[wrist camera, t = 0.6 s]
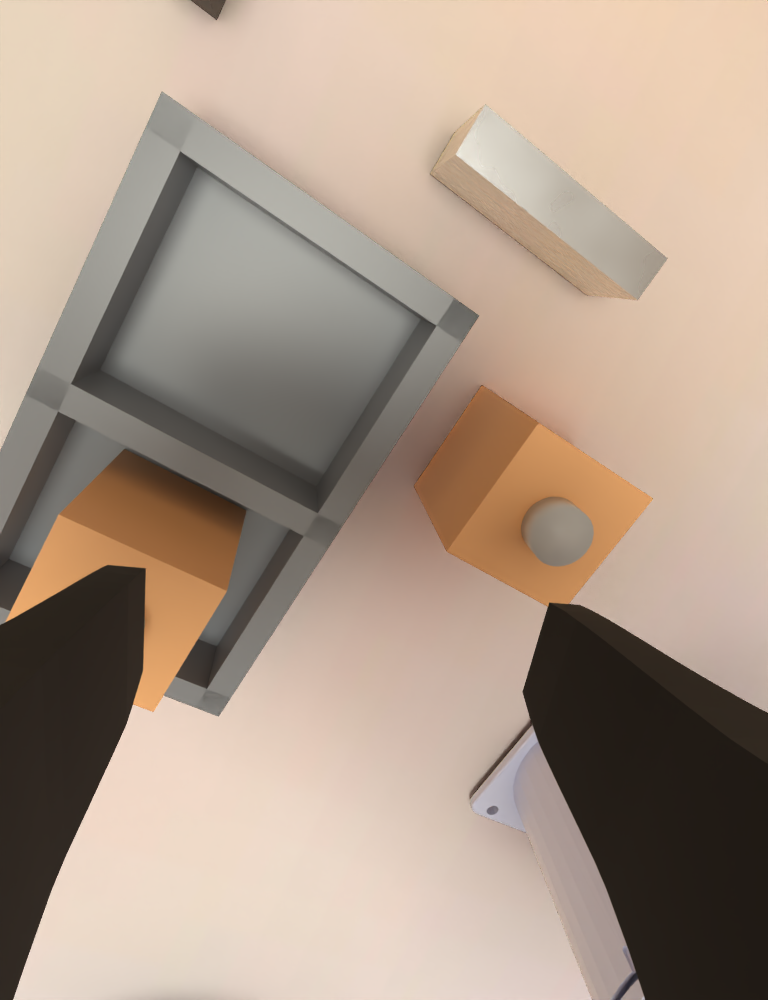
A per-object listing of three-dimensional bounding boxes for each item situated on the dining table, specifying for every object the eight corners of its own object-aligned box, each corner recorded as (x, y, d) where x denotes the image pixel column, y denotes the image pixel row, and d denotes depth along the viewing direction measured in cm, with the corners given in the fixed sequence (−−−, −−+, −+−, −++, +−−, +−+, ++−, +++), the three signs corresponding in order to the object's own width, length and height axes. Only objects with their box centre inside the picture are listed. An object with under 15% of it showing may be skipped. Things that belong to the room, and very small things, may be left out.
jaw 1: (573, 445, 20) (670, 510, 15) (504, 537, 21) (573, 629, 16) (481, 384, 19) (551, 431, 14) (413, 485, 20) (453, 566, 14)
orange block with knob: (246, 510, 18) (222, 609, 13) (189, 606, 19) (145, 735, 14) (124, 449, 17) (43, 529, 12) (70, 554, 18) (-28, 673, 13)
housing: (451, 308, 18) (479, 315, 15) (229, 658, 21) (218, 716, 19) (188, 123, 15) (161, 91, 12) (-15, 556, 19) (-70, 605, 16)
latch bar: (611, 260, 18) (667, 258, 15) (586, 295, 18) (637, 299, 15) (454, 132, 16) (485, 104, 13) (430, 173, 16) (455, 154, 14)
